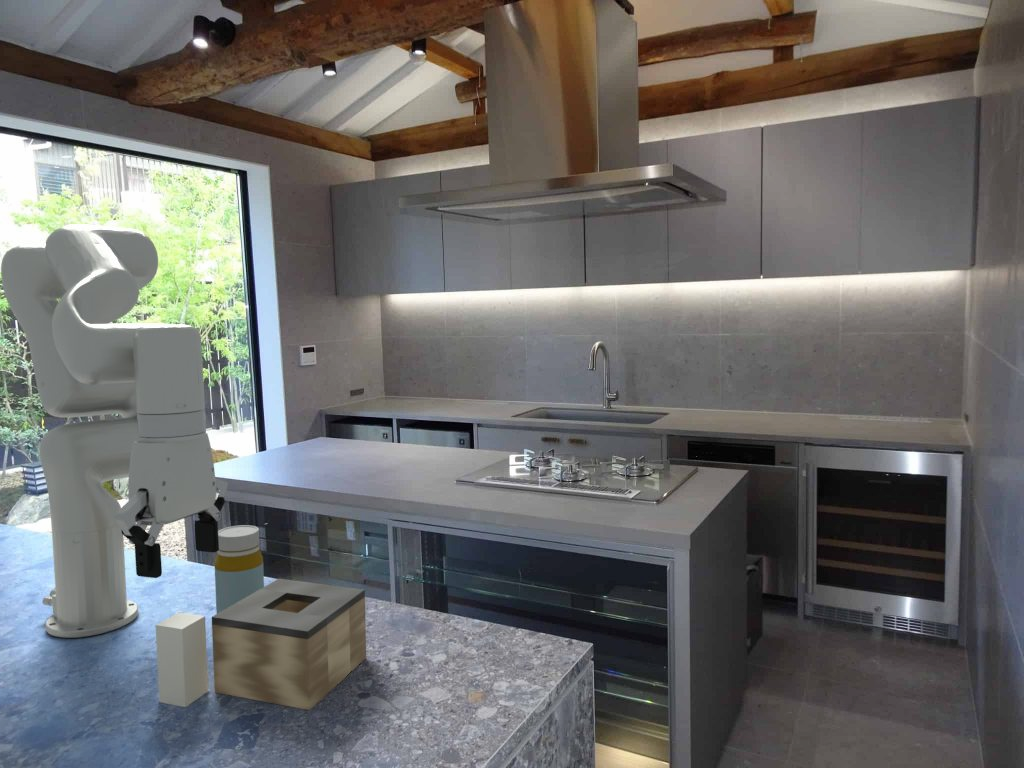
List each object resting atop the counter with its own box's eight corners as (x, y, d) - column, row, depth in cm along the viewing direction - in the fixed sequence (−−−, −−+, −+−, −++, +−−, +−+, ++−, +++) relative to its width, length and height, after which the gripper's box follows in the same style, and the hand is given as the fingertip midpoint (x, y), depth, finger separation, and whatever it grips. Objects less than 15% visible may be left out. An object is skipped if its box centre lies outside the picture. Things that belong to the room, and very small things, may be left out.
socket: (214, 692, 92) (211, 616, 91) (280, 644, 106) (278, 578, 105) (309, 710, 88) (307, 631, 87) (366, 658, 101) (364, 589, 101)
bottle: (249, 636, 108) (245, 539, 107) (207, 632, 110) (203, 536, 108) (273, 617, 115) (270, 525, 114) (234, 613, 117) (230, 523, 115)
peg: (159, 702, 90) (155, 624, 89) (182, 686, 94) (179, 612, 93) (185, 707, 89) (181, 629, 88) (208, 691, 93) (205, 616, 92)
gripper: (197, 416, 97) (204, 540, 99) (87, 435, 81) (97, 584, 82) (244, 417, 95) (250, 544, 96) (140, 437, 79) (149, 590, 80)
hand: (179, 563), depth 89 cm, fingers open, 9 cm apart
